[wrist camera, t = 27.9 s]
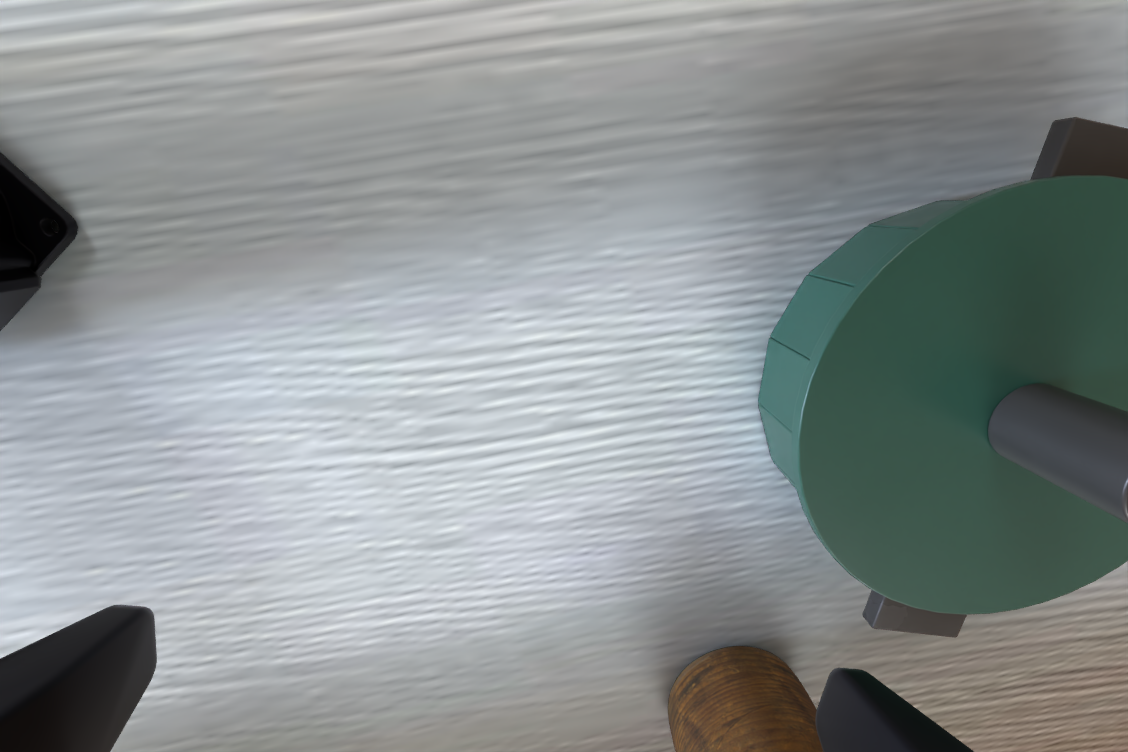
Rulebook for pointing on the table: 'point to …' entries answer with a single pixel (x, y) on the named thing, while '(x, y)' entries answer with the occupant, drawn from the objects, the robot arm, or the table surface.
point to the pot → (825, 288)
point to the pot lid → (978, 404)
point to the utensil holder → (741, 705)
